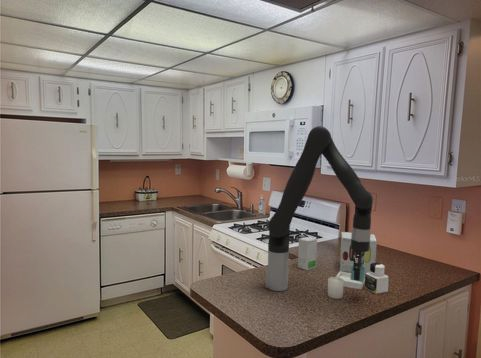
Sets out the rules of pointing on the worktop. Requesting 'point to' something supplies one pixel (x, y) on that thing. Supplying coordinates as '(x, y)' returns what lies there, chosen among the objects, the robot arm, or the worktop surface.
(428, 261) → the worktop surface
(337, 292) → the white rounded dome
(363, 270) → the block
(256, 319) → the worktop surface
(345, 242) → the supplement box
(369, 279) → the medicine bottle
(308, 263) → the skincare box
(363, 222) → the robot arm
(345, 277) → the tray
